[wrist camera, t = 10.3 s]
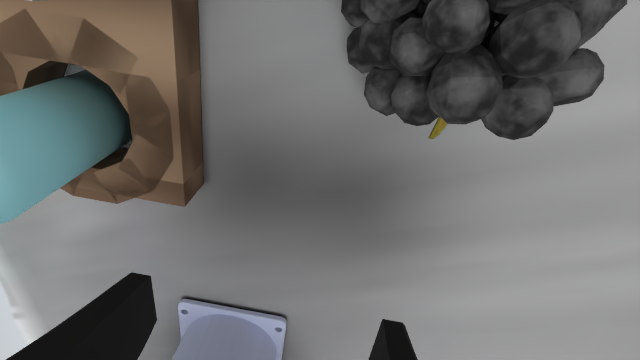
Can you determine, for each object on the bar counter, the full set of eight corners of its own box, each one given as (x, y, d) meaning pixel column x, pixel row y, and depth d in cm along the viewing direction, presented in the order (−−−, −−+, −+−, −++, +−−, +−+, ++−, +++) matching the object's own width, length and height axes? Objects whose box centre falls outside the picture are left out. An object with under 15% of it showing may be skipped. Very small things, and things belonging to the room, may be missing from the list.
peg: (148, 147, 20) (32, 235, 13) (78, 129, 20) (-76, 208, 13) (147, 78, 18) (9, 138, 11) (70, 58, 18) (-118, 105, 11)
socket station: (203, 191, 21) (108, 315, 13) (42, 163, 21) (-145, 267, 13) (192, -157, 13) (-56, -360, 5) (-62, -195, 13) (-650, -444, 6)
